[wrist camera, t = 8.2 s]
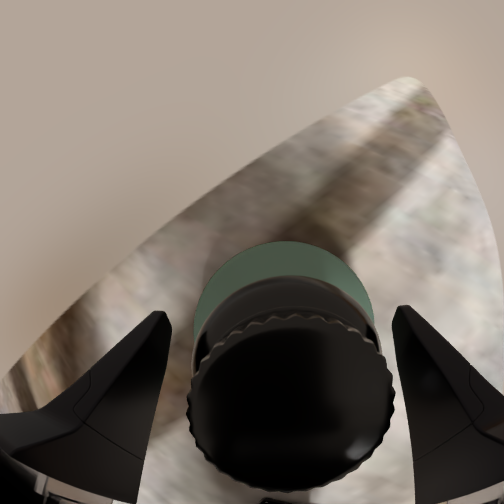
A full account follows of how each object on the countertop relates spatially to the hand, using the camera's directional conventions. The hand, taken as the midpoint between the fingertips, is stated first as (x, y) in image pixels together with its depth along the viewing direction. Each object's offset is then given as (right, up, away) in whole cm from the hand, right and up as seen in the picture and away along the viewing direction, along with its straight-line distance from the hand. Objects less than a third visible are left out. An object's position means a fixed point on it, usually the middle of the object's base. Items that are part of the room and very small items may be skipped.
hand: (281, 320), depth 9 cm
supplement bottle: (+1, -3, +8) cm, 9 cm away
